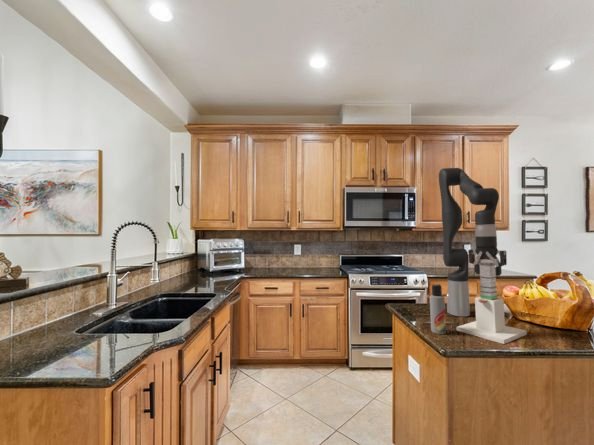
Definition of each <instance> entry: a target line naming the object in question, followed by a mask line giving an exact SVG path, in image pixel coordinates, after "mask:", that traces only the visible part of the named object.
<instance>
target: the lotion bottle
mask: <svg viewBox="0 0 594 445" xmlns="http://www.w3.org/2000/svg"><path fill="white" fill-rule="evenodd" d="M442 289H443V287H442V285H441V284H440V283H439V284H438V283H436V284H435V283H434V284H432V285H431V294H430V295H429V312H430V314H429V315H430V330H431V332H432V333H434V334H436V335H445V334H446V333H447V324H446V323H447V322H446V321H447V320H446V303H445V301H446V300H445V296H444V295H443V294H442V293H443V290H442Z"/></svg>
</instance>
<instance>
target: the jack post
mask: <svg viewBox="0 0 594 445" xmlns="http://www.w3.org/2000/svg"><path fill="white" fill-rule="evenodd" d="M478 265H480V274H479V279H480V282H479V283H480V285H479V287H480V295H479V297H480V298H481V299H487V300H496V299H497V298H498V295H497V293H498V291H497V287H498V286H497V280H496V279H497V276H496V274H495V267H496V266H495V264H494V263H493V262H492V261H491V262H489V261H481V262H480V263H478Z"/></svg>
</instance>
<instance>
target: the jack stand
mask: <svg viewBox="0 0 594 445" xmlns="http://www.w3.org/2000/svg"><path fill="white" fill-rule="evenodd" d="M504 300H505V299H504V298H501V297H497V299H496V300H487V299H481V298H480V296H476V297H474V308H475V320H474V321H470V322H468V323H465V324H461V325H458V326H456V331H457V332H461V333H464V334H467V335H468V334H469V335H471V336H476V337H477V338H478V337H479V338H481V339H485V340H488V341H492V342H496V343H499V344H503V345H505V344H507V343H510V342H513V341H515V340H517V339H520V338H522V337H525V336H526V335H528V333H527V332H528V331H527V330H525V329H521V328H518V327H512V326H507V325H506V322H505V306H504V305H505V303H504Z"/></svg>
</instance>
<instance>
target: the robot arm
mask: <svg viewBox="0 0 594 445" xmlns="http://www.w3.org/2000/svg"><path fill="white" fill-rule="evenodd" d="M438 185H439V191H440V199H441V201H440V202H441V220H442V221H441V222H442V233H443V236H442V237H443V238H442V239H443V241H442V242H443V247H442V252H443V253H442V254H443V255H442V258H443V264H444V266H445V267H449V268H453V267H454V268H455V267H456V268H457V270H455V271H453V272H451V273H450V272H449V273H448V274H447V290H448V292H447V294H446V310H447V311H446V312H447V314H449V315H452V316H454V317H455V316H456V317H469V316H471V309H470V308H471V307H470V306H471V305H470V286H469V283H470V282H469V264H472V265H473V266H474V267H473V268H474V273H475V274H476V275H480V265H478V263H480V262H483V260H487V261H491V262H493V263H494V264H495V275H496V277H499V276H500V277H501V275H502V267H503V266H507V263H508V262H507V260H508V259H507V250H498V237H497V228H496V226H497V225H496V211H497V207H498V206H497V205H498V203H499V200H500V194H499V191H498V190H497V189H496V188H495V187H488V188H487V187H486V188H485V187H483V186H482V185H481V184H480V183H479V182H477V181H475V180H473V179H472V178H471V177H470V176H469V175H468V174H467V173H466V171H464V170H463V169H462V168H459V167H448V168H447V167H446V168H445V167H444V168H441V169H440V170H439V173H438ZM453 186H455V187H456V186H459V190H460V192H461V193H462V194H464V195H465V196H466V197H467V199H468V200H469V203H470V204H472V205H474V206H485V208H484V209H483V210H479V211H476V212H475V213H474V223H475V224H474V239H475V240H474V241H475V247H476V248H475V249H473V248H472V249H468V250H467V249H465V248H452V244H453V242H454V241H453V240H454V238H455V236H456V235H457V233H458V232H459V230H460V229H461V227H462V225H463V213H462V212H463V211H462V208H461V206H460V205H459V203H458V202H457V201H456V199H454V197H453V195H452V193H451V191H450V190H451V189H450V187H453ZM476 254H477V255H476ZM497 255H498V256H499V257H498V256H497Z"/></svg>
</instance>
